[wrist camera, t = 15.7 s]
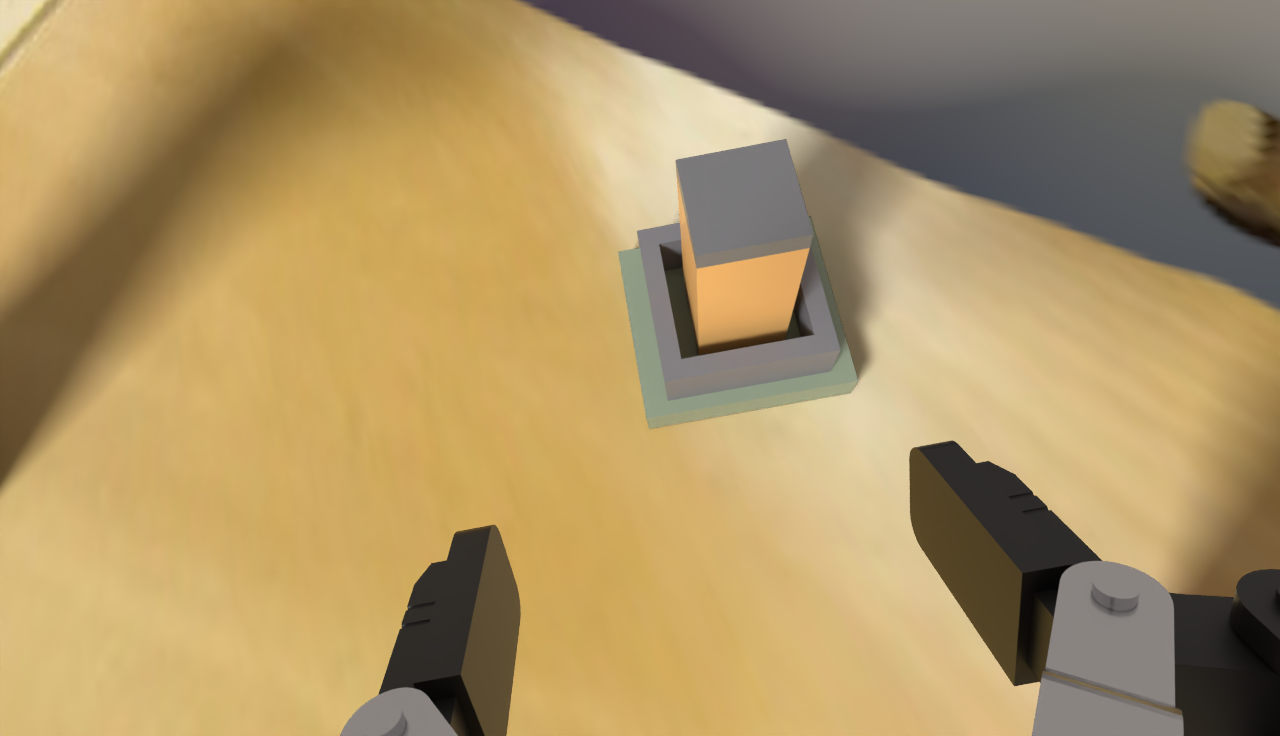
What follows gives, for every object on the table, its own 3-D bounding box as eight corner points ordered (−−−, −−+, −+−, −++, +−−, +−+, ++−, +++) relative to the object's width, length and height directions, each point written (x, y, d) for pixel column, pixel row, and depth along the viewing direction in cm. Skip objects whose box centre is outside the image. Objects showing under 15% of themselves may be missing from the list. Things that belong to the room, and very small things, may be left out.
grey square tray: (649, 429, 38) (641, 401, 33) (622, 268, 41) (611, 223, 37) (850, 392, 37) (871, 359, 33) (805, 234, 41) (818, 184, 36)
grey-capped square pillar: (699, 359, 37) (696, 256, 27) (684, 284, 38) (675, 159, 28) (783, 344, 37) (813, 234, 26) (764, 270, 38) (786, 139, 28)
